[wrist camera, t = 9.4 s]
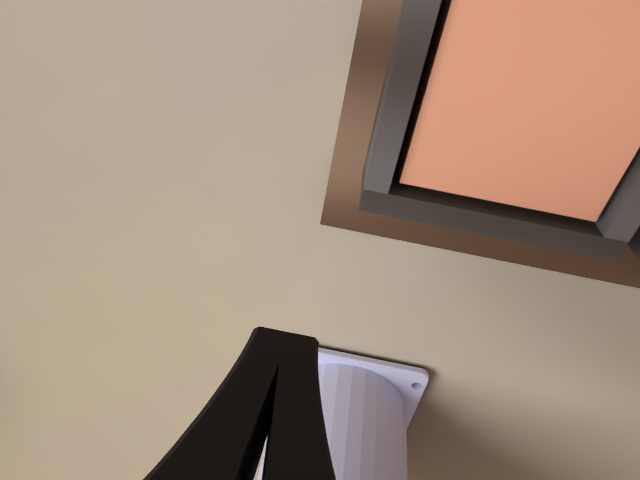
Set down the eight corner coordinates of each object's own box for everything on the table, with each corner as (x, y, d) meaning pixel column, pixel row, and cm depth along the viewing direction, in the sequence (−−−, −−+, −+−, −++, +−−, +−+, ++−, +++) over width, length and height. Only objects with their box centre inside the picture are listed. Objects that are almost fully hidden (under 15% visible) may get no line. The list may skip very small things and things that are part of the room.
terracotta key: (576, 191, 17) (595, 221, 16) (398, 156, 17) (399, 182, 16) (682, -7, 14) (722, 6, 12) (455, -51, 14) (464, -44, 12)
